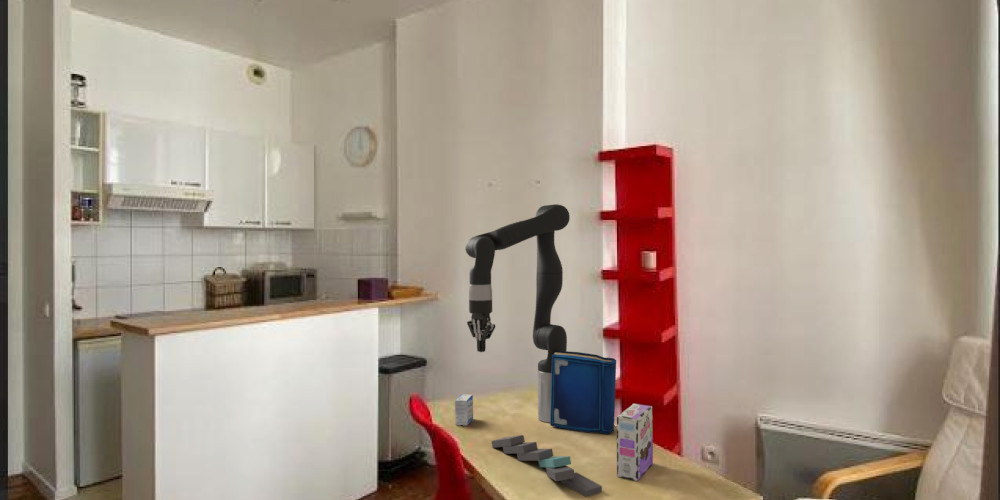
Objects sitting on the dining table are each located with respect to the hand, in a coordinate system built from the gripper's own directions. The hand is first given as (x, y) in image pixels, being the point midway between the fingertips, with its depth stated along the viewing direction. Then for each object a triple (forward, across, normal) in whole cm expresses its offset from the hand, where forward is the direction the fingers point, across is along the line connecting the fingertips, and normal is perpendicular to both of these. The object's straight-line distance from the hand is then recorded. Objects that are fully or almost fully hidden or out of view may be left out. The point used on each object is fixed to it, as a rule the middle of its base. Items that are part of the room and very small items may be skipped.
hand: (481, 351), depth 182 cm
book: (+27, -17, -29) cm, 44 cm away
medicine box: (+27, +14, -2) cm, 31 cm away
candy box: (+27, -50, -15) cm, 59 cm away
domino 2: (+26, -17, +2) cm, 31 cm away
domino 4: (+26, -32, +1) cm, 41 cm away
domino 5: (+26, -38, +3) cm, 46 cm away
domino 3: (+26, -24, +2) cm, 35 cm away
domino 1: (+26, -11, +2) cm, 29 cm away
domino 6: (+27, -43, +3) cm, 50 cm away
